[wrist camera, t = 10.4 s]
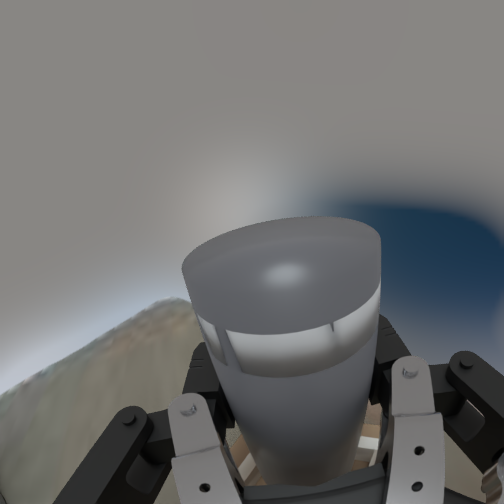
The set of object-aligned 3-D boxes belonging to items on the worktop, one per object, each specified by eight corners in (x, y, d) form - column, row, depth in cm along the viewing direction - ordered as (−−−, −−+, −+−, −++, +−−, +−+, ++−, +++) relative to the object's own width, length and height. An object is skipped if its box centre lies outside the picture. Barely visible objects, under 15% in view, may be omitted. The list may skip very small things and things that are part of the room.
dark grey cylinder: (242, 480, 10) (141, 279, 6) (285, 416, 14) (247, 218, 10) (332, 509, 8) (363, 307, 4) (365, 433, 11) (386, 215, 7)
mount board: (174, 521, 12) (154, 510, 11) (266, 406, 24) (261, 384, 22) (357, 588, 4) (366, 592, 3) (417, 434, 16) (429, 413, 14)
